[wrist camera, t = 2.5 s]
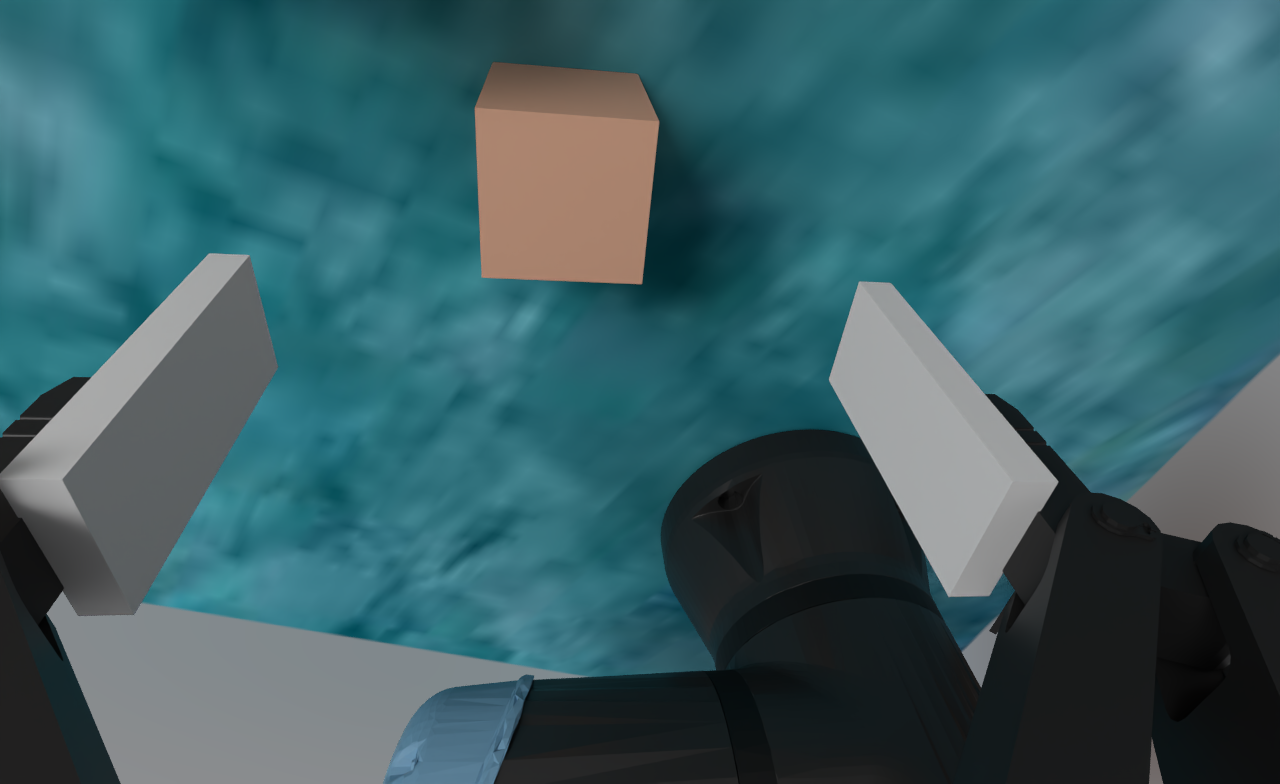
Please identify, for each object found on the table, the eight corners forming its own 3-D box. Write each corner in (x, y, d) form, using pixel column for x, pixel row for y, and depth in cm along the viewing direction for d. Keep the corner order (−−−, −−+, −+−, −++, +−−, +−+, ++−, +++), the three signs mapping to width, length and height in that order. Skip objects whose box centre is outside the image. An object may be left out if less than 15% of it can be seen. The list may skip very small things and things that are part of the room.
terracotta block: (625, 210, 30) (641, 284, 24) (496, 203, 29) (481, 277, 23) (637, 73, 27) (659, 121, 21) (492, 61, 26) (474, 107, 20)
